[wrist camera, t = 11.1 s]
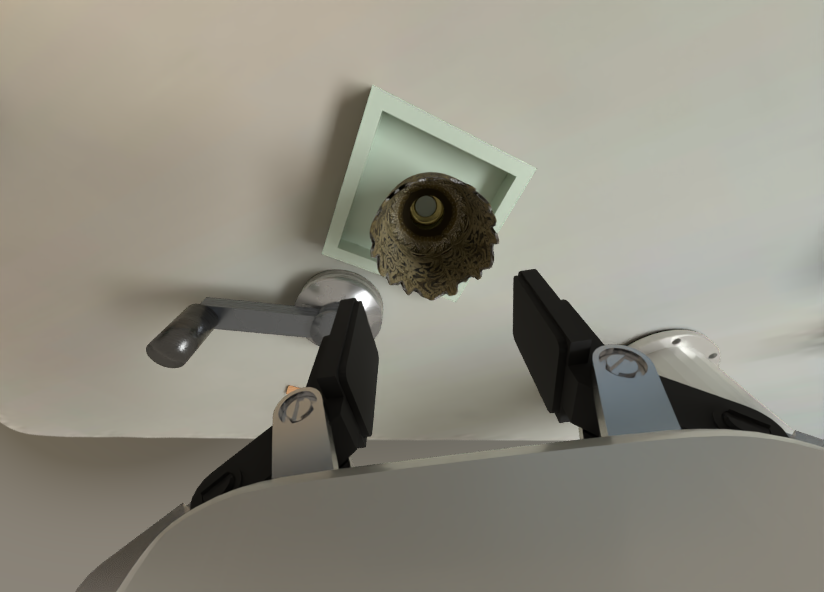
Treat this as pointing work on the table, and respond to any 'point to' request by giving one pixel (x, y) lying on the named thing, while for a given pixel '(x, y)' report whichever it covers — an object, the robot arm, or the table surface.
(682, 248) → the table surface
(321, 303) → the crank base
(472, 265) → the ornate brass lampshade
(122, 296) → the table surface
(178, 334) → the crank
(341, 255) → the tray
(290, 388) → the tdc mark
